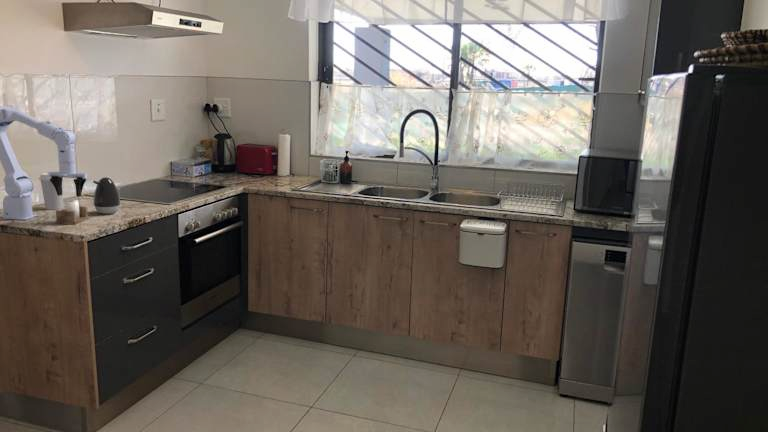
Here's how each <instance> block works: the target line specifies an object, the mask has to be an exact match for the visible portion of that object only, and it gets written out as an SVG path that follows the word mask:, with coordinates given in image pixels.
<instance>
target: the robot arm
mask: <svg viewBox="0 0 768 432" xmlns="http://www.w3.org/2000/svg"><path fill="white" fill-rule="evenodd" d="M14 122H18V123H21V124H23V125H26V126H28V127H30V128H33V129H35V130H37V133H38V134H39V135H40V136H43V137H45V138H47V139H49V140H51V141H53V142H54V144H55V145H56V146H57V156H58V167H59V171H53V170H52V171H48V172H47V173H48V175H49V177H52V178H50V181H51V182H52V184H53V185H54V187H55V189H56V192H57V195H58V196H60V195H62V180H63V181H64V179H68V178H69V179H70V178H71V179H73V183H74V186H75V195H76V197H77V198H79V197H81V196H82V193H83V188H84V186H85V184H86V181H87V179H88V173H86V172H78V171H77V169H76V168H77V167H76V166H77V165H76V151H75V143H76V142H77V135H76V133H75V132H74V131H72V130H71V129H64V127H63V126H58V125H56V124H54V123H53V121H51V120H44V121H41V120H38V119H37V118H36V117H34V116H32V115H30V114H28V113H26V112H25V111H22V110H20V109H19V108H18V107H14V106H12V105H10V104H9V105H2V106H1V105H0V164H1V167H2V169H3V170H4V172H5V175H4V178H3V182H4V191H5V193H6V194H7V195H5V196H4V197H3V200H2V211H3V217H2V219H4V220H19V221H20V220H22V221H23V220H24V221H27V220H30V219H32V218H35V217H38V214H33V201H32V191H33V190H34V189H35V184H34V182H33V180H32V178H31V179H30V177H29V175H28V173H27V172H25V171H24V170H23V169H22V168H21V166H20V164H19V161H18V159H17V156H16V154H15V152H14V149H13V147H12V145H11V142H10V140H9V138H8V136H7V133H6V131H7V129H8V128H9V126H10V125H11V124H13V123H14ZM63 177H64V179H63Z"/></svg>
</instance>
